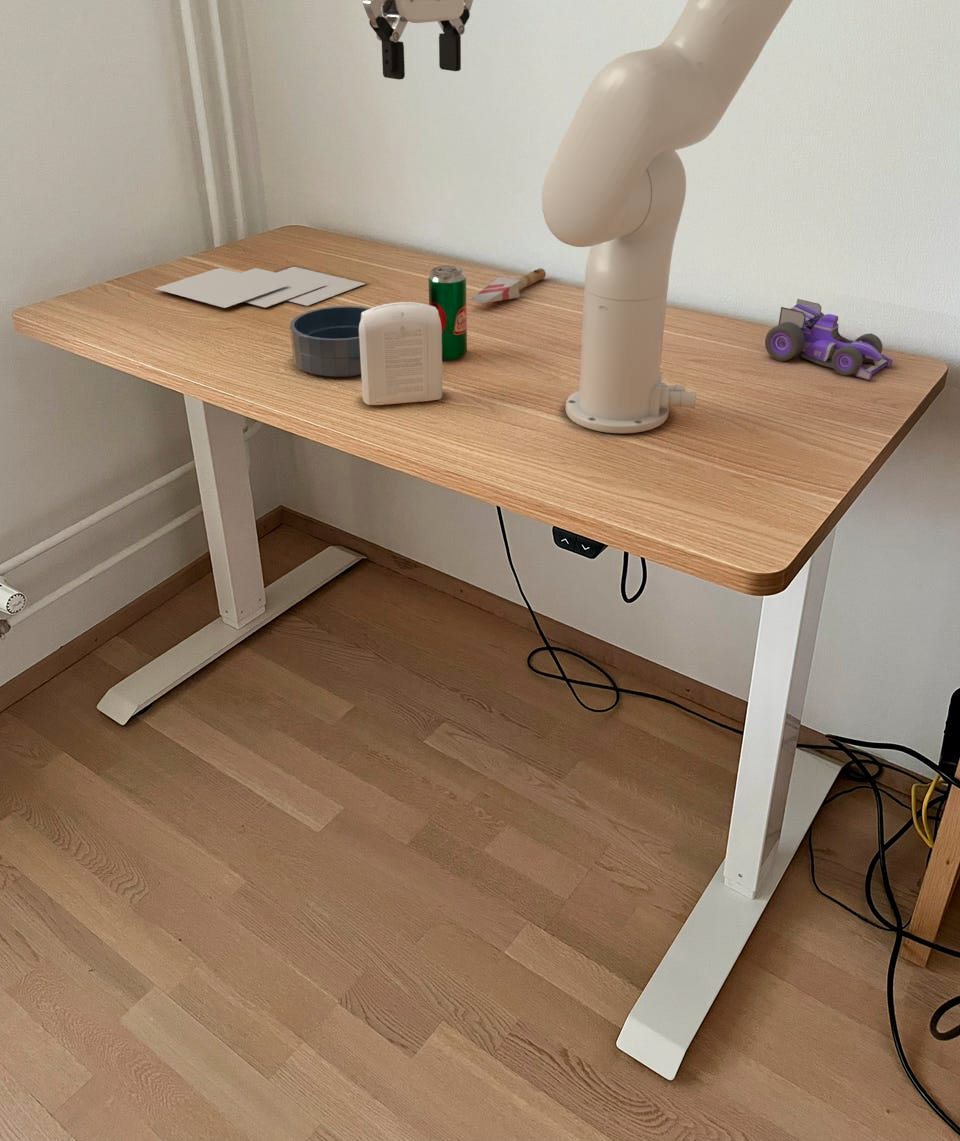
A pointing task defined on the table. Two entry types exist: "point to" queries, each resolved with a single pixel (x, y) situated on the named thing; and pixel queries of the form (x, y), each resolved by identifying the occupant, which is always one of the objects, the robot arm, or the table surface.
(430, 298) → the soda can
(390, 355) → the photo printer
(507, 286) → the paintbrush
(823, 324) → the toy race car
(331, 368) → the bowl
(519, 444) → the table surface
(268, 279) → the paper stack
